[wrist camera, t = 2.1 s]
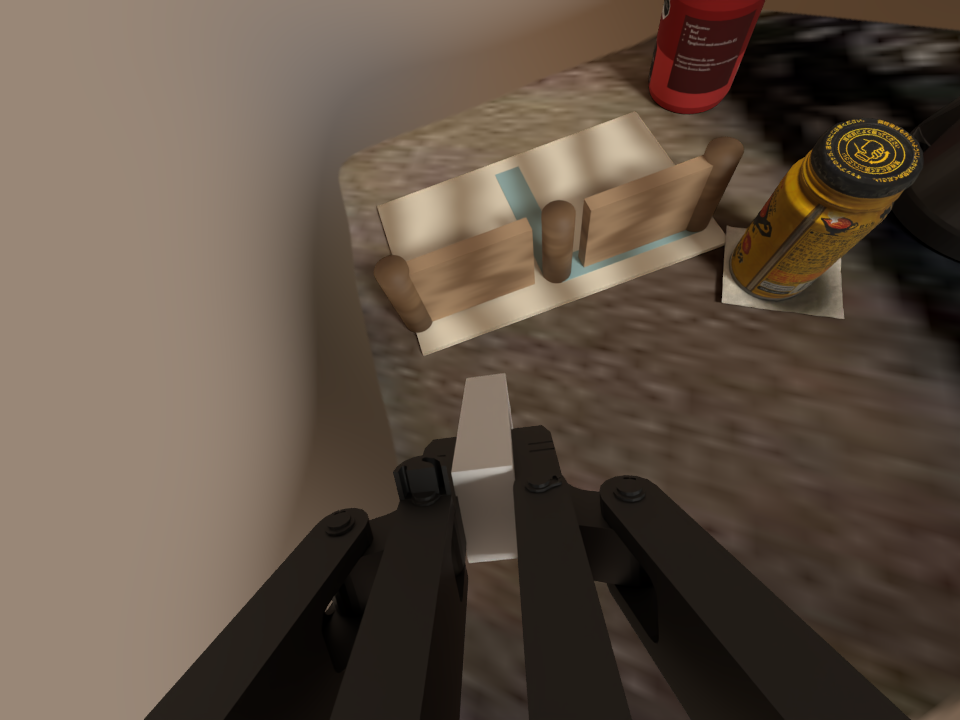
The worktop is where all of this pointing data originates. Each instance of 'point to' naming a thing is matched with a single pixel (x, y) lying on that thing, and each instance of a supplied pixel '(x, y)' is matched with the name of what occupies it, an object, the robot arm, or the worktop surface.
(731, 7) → the canned food
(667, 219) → the fence fixed
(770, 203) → the condiment
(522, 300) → the board
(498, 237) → the fence panel
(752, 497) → the worktop surface
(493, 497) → the robot arm
